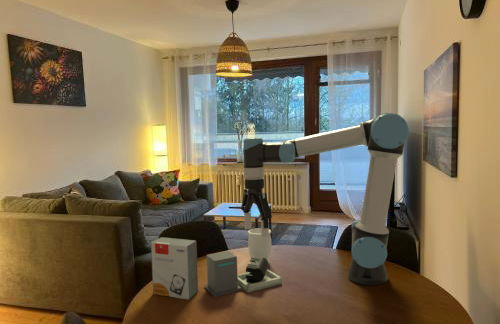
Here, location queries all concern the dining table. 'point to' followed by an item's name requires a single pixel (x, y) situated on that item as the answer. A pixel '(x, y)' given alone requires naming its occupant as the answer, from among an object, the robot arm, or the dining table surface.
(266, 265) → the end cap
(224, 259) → the unit
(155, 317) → the dining table surface
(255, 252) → the jar
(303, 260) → the dining table surface
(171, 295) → the hard drive box
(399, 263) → the dining table surface
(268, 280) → the tray
